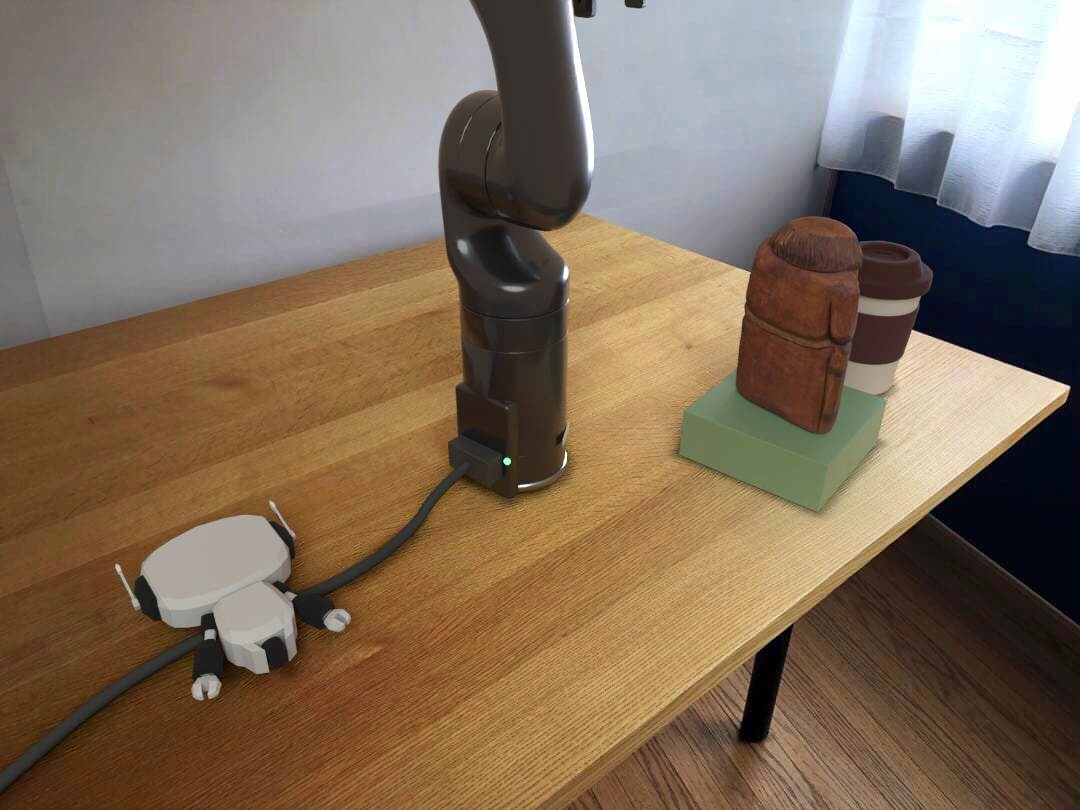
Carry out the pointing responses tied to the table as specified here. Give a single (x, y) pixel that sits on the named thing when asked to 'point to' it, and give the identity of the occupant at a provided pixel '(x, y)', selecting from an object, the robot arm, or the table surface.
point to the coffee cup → (884, 313)
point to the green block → (780, 443)
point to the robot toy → (231, 595)
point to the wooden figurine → (800, 321)
